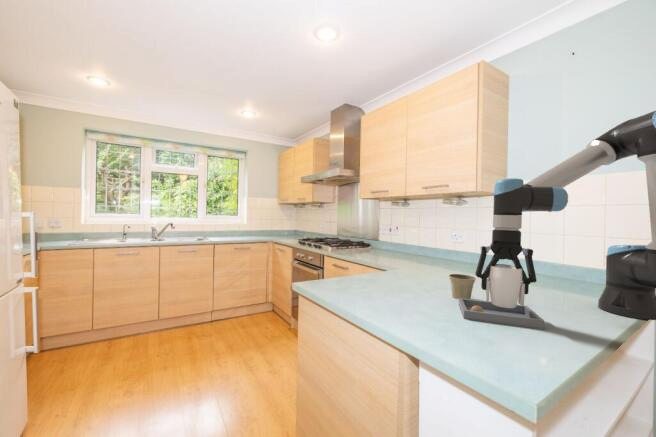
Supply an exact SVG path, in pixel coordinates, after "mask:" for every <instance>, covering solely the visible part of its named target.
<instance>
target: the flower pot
mask: <svg viewBox="0 0 656 437" xmlns="http://www.w3.org/2000/svg"><path fill="white" fill-rule="evenodd" d="M448 277H449V280H450V285H451V286H450V288H451V297H452V299H457V300H459V298H463V299H472V292H473V289H474V284H475V281H476V280H477V278H476V276H473V275H468V274H464V273H463V274H461V273H459V274H458V273H451V274H448Z"/></svg>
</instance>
